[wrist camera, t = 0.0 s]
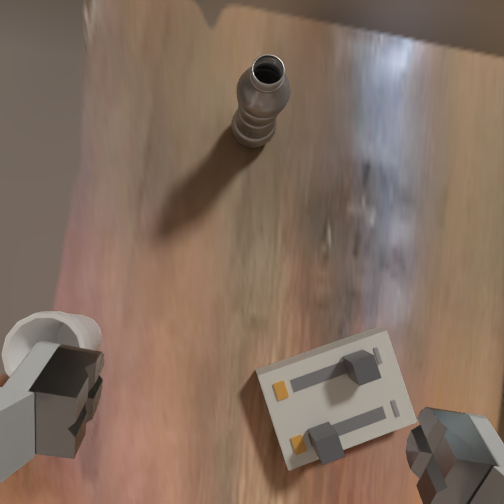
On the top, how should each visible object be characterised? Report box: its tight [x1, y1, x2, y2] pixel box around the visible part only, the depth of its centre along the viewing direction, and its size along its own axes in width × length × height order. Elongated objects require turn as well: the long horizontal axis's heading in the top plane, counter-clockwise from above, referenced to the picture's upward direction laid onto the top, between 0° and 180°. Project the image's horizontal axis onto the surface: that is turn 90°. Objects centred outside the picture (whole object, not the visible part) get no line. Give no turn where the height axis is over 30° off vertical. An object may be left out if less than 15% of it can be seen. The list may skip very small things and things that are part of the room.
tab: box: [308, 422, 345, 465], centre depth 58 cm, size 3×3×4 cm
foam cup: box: [1, 311, 102, 377], centre depth 56 cm, size 10×9×13 cm
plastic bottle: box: [231, 54, 290, 148], centre depth 57 cm, size 6×7×20 cm
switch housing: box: [255, 327, 417, 471], centre depth 63 cm, size 14×20×4 cm
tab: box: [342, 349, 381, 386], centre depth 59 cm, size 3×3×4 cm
